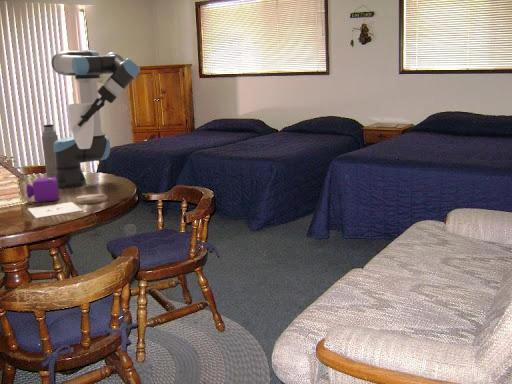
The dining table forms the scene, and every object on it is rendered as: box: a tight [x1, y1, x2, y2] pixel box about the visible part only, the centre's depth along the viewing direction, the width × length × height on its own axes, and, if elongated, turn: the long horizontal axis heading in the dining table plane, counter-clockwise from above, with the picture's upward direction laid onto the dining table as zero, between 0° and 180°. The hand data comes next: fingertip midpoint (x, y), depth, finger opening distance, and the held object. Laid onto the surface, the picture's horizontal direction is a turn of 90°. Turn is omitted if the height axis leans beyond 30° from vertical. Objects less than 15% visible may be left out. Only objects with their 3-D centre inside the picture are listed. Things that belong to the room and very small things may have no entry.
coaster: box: [75, 193, 108, 205], centre depth 241 cm, size 13×13×2 cm
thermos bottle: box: [41, 124, 59, 178], centre depth 299 cm, size 8×8×28 cm
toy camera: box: [25, 177, 60, 203], centre depth 244 cm, size 11×14×10 cm
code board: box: [27, 201, 84, 219], centre depth 227 cm, size 18×18×1 cm
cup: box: [67, 102, 94, 149], centre depth 234 cm, size 10×10×22 cm
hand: (75, 130), depth 234 cm, fingers closed on cup, 10 cm apart
